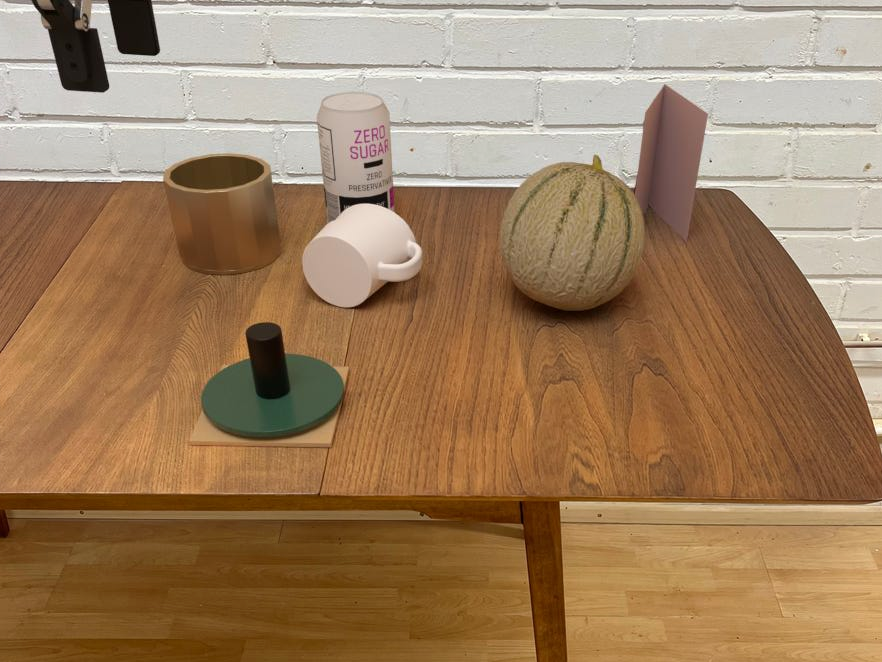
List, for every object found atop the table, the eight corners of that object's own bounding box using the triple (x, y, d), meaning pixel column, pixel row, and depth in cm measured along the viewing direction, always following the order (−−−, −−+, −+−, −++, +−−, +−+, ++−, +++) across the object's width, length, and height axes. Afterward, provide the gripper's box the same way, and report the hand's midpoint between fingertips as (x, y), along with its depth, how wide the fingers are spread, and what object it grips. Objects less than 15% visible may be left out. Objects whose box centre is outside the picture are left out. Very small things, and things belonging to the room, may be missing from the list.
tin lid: (277, 461, 73) (264, 387, 68) (173, 411, 78) (155, 340, 73) (373, 391, 81) (367, 321, 76) (273, 350, 86) (262, 282, 81)
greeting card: (641, 204, 116) (657, 83, 106) (698, 212, 114) (720, 90, 104) (622, 239, 108) (637, 111, 98) (683, 249, 106) (705, 119, 96)
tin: (230, 284, 98) (215, 200, 91) (160, 257, 102) (141, 176, 96) (301, 247, 105) (291, 167, 99) (232, 224, 110) (219, 146, 104)
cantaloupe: (474, 316, 93) (476, 174, 83) (529, 260, 103) (536, 128, 93) (609, 350, 88) (627, 203, 78) (653, 287, 98) (673, 151, 88)
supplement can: (351, 209, 113) (341, 86, 104) (407, 222, 111) (402, 96, 101) (315, 233, 108) (300, 105, 98) (373, 247, 105) (364, 116, 96)
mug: (299, 299, 95) (290, 228, 90) (339, 263, 102) (333, 195, 97) (402, 319, 92) (399, 247, 87) (436, 280, 99) (435, 211, 94)
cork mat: (189, 445, 75) (188, 440, 75) (223, 368, 84) (222, 364, 84) (331, 447, 75) (331, 443, 75) (349, 370, 84) (349, 366, 84)
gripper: (56, -228, 62) (112, 39, 73) (-87, -224, 48) (8, 103, 59) (162, -223, 62) (202, 45, 72) (47, -217, 48) (117, 110, 59)
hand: (114, 71), depth 66 cm, fingers open, 9 cm apart
